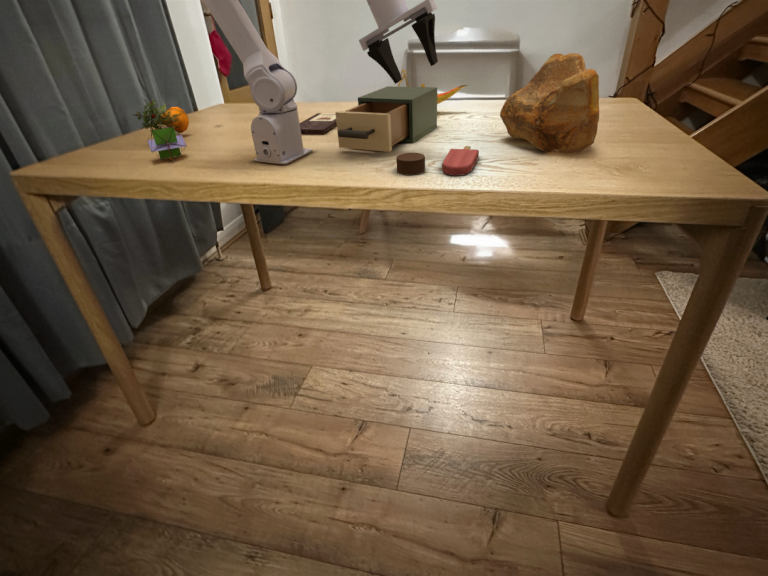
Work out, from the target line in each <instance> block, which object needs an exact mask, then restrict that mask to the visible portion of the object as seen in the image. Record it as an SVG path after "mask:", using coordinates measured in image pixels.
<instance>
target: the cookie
mask: <svg viewBox="0 0 768 576" xmlns="http://www.w3.org/2000/svg"><path fill="white" fill-rule="evenodd" d="M395 158H396V159H395V160H396V161H395V162H396V173H397V174H400V175H404V176H417V175H421V174H423V173H424V172H425V171H426V155H425V154H424V153H422V152H403V153H400V154H397V155H396V157H395Z"/></svg>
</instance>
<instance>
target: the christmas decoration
mask: <svg viewBox="0 0 768 576" xmlns="http://www.w3.org/2000/svg"><path fill="white" fill-rule="evenodd" d="M144 102H145V105H144V106H143V111H142V113H141V112H139V111H137V112H136V113H135V114H134V113H132V114H131V116H135V117H137V120H139V121H141V120H143V122H141V124H142V125H141V126H142V127H141V128H140V130H142V129H145V130H148V129H150V131H149V132H151V130H156V129H161V126H160V125H162V126H166V127H169V126H170V127H174V128H175V129H174V130H175V131H177V132H178V133H180V134H182V133H184V132H187V130H188V128H189V125H190V121H189V119H190V118H189V116H188V114H187V113H186V111H185V110H184V109H182V108H181V107H179V106H171V107H169V108H168V109H167V104H166V102H164V103H163V105H161V106H157V107H155V105H156V104H157V101H155V97H153V98H152V100H151V101H149V102H148V101H147V100H146V99H144ZM216 125H217V126H220V123H217V124H216ZM158 126H159V127H158Z"/></svg>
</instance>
